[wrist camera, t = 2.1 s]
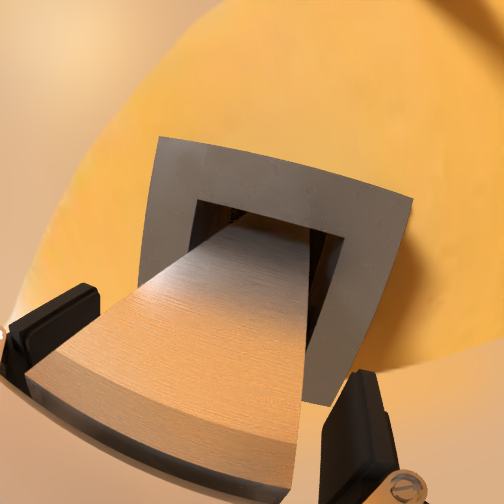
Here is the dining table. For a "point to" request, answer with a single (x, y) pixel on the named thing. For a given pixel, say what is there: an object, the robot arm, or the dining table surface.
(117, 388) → the column
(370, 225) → the housing
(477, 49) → the dining table surface
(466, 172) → the dining table surface
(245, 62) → the dining table surface
